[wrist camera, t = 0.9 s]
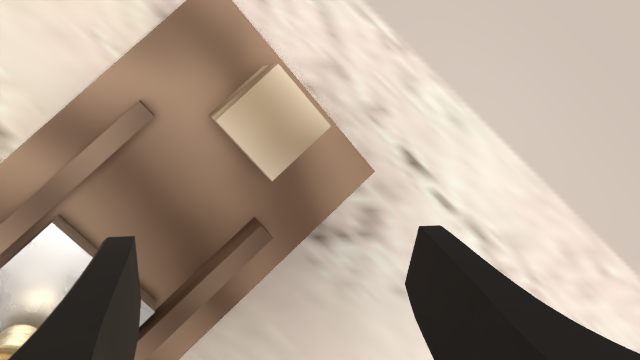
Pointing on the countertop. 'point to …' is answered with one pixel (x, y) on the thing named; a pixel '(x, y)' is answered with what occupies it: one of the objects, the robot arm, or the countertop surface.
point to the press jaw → (44, 282)
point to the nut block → (270, 120)
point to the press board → (176, 174)
